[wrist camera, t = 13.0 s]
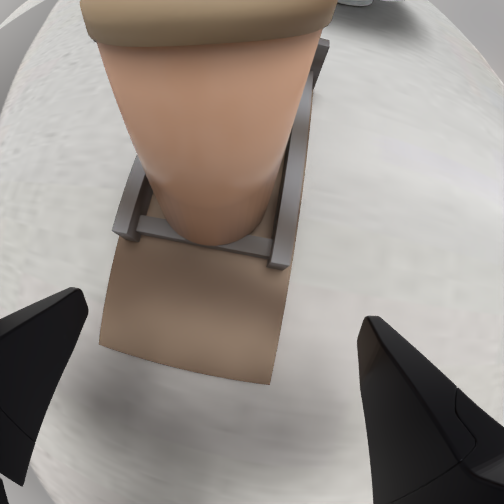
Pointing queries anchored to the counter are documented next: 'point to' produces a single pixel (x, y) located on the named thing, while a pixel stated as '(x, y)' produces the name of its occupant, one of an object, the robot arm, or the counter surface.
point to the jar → (209, 99)
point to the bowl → (360, 2)
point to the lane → (207, 275)
